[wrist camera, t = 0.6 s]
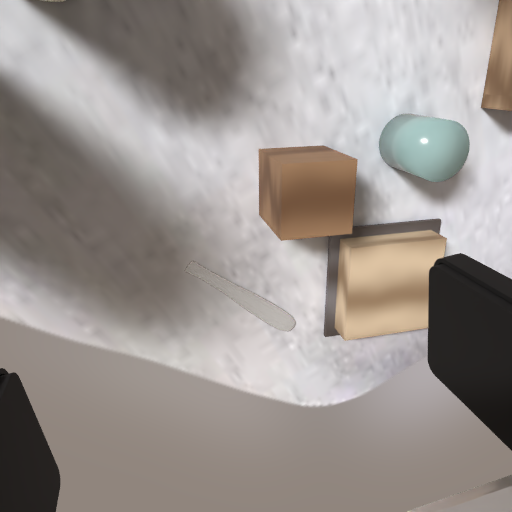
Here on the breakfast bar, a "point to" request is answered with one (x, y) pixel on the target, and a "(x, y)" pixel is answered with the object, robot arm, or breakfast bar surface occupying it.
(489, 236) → the breakfast bar surface
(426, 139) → the teal capsule
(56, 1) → the coffee can
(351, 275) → the plinth
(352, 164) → the walnut block
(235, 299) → the butter knife
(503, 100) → the mug tray
